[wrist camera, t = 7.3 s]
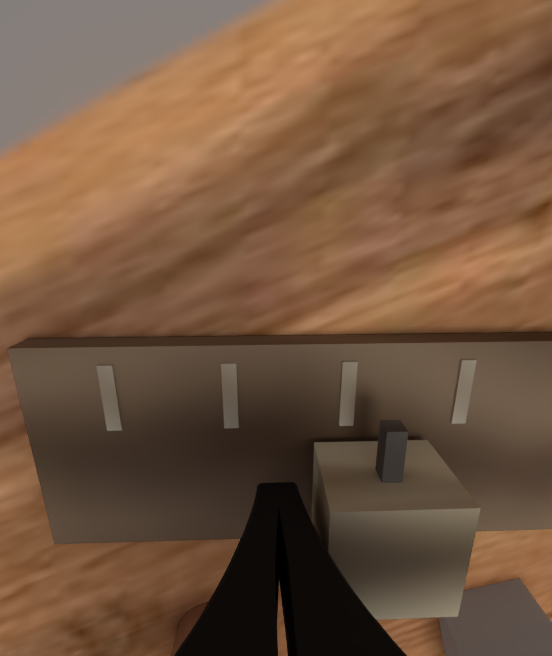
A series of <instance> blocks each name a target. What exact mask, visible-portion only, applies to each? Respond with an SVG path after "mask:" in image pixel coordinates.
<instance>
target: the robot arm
mask: <svg viewBox="0 0 552 656" xmlns="http://www.w3.org/2000/svg"><path fill="white" fill-rule="evenodd" d="M279 581H280V589H281V598H282V606H283V615H284V623H285V632H286V640H287V651H288V656H407V655H406V654H405V653H404V652H403V651H402V650H401V649H400V648H399V647H398V645H397V644H396V643H395V642H394V641H393V640H392V639H391V637H390V636H389V635H388V634H387V632H386V631H385V630H384V629H383V628H382V626H381V625H380V624H379V623H378V622H377V620H376V619H375V618H374V617H373V615H372V614H371V613H370V612H369V611H368V609H367V608H366V607H365V605H364V604H363V603H362V601H361V600H360V599H359V597H358V596H357V595H356V593H355V592H354V591H353V589H352V588H351V586H350V585H349V583H348V582H347V581H346V579H345V578H344V576H343V575H342V573H341V572H340V570H339V569H338V567H337V565H336V564H335V562H334V561H333V559H332V557H331V556H330V554H329V552H328V551H327V549H326V547H325V546H324V544H323V542H322V540H321V539H320V537H319V535H318V533H317V531H316V529H315V527H314V525H313V523H312V521H311V519H310V517H309V515H308V513H307V511H306V508H305V506H304V504H303V501H302V499H301V496H300V493H299V491H298V487H297V485H296V484H295V483H294V482H276V483H260V484H259V485H258V486H257V491H256V496H255V500H254V503H253V507H252V510H251V513H250V516H249V519H248V521H247V524H246V527H245V529H244V532H243V535H242V537H241V539H240V542H239V544H238V546H237V548H236V551H235V553H234V555H233V557H232V559H231V562H230V564H229V566H228V568H227V570H226V572H225V574H224V575H223V577H222V579H221V581H220V583H219V585H218V587H217V588H216V590H215V592H214V594H213V596H212V597H211V599H210V601H209V602H208V604H207V606H206V607H205V609H204V611H203V612H202V614H201V616H200V617H199V619H198V620H197V622H196V624H195V625H194V627H193V628H192V630H191V631H190V633H189V634H188V636H187V637H186V638H185V640H184V641H183V643H182V644H181V646H180V647H179V649H178V650H177V651H176V653H175V654H174V656H278V645H277V609H278V586H279Z"/></svg>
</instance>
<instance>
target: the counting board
mask: <svg viewBox="0 0 552 656" xmlns="http://www.w3.org/2000/svg"><path fill="white" fill-rule="evenodd" d="M7 350H8V354H9V358H10V363H11V367H12V371H13V375H14V379H15V383H16V387H17V391H18V395H19V400H20V404H21V408H22V412H23V416H24V420H25V424H26V428H27V432H28V436H29V441H30V445H31V449H32V453H33V457H34V461H35V465H36V469H37V473H38V478H39V482H40V486H41V490H42V494H43V498H44V502H45V506H46V510H47V514H48V519H49V523H50V527H51V531H52V535H53V539H54V543H55V544H76V543H109V542H142V541H174V540H207V539H240V538H241V537H242V535H243V532H244V529H245V527H246V524H247V521H248V519H249V516H250V513H251V510H252V507H253V503H254V500H255V496H256V491H257V486H258V485H259V484H260V483H276V482H294V483H295V484H296V485H297V487H298V491H299V493H300V496H301V499H302V501H303V504H304V506H305V508H306V511H307V513H308V515H309V517H310V519H311V518H312V488H313V459H314V442H356V441H378V436H379V425H380V420H401V422H402V423H403V425H404V426H405V427H406V429H407V430H408V440H428V441H429V442H430V444H431V445H432V446H433V448H434V449H435V450H436V451H437V453H438V454H439V455H440V457H441V458H442V459H443V460H444V462H445V463H446V464H447V466H448V467H449V468H450V469H451V471H452V472H453V473H454V475H455V476H456V477H457V478H458V480H459V481H460V482H461V484H462V485H463V486H464V487H465V489H466V490H467V491H468V493H469V494H470V495H471V496H472V498H473V499H474V500H475V502H476V503H477V504H478V506H479V507H480V508H481V509H480V514H479V518H478V523H477V528H476V531H503V530H536V529H552V332H519V333H439V334H359V335H280V336H200V337H120V338H40V339H27V340H24V341H22V342H20V343H18V344H16V345H13V346H11V347H9V348H7Z"/></svg>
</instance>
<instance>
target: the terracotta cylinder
mask: <svg viewBox="0 0 552 656" xmlns="http://www.w3.org/2000/svg"><path fill="white" fill-rule="evenodd" d="M207 604H208V602H207V603H204V604H201V605H198V606H196V607H194V608H193V609H191V610H190V611H188V612H187V613H186V614H185V615H184V616H183V617H182V619H181V620H180V622H179V624H178V627H177V631H176V636H175V640H174V645H173V649H172V654H171V656H174V654H175V653H176V651H177V650H178V649H179V647H180V646H181V644H182V643H183V641H184V640H185V638H186V637H187V636H188V634H189V633H190V631H191V630H192V628H193V627H194V625H195V624H196V622H197V620H198V619H199V617H200V616H201V614H202V612H203V611H204V609H205V607H206V606H207Z"/></svg>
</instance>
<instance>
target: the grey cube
mask: <svg viewBox="0 0 552 656" xmlns="http://www.w3.org/2000/svg"><path fill="white" fill-rule="evenodd" d="M439 623H440V629H441V635H442V641H443V647H444V652H445V655H446V656H552V622H551V621H550V619H549V618H548V617H547V615H546V614H545V613H544V611H543V610H542V609H541V607H540V606H539V604H538V603H537V602H536V600H535V599H534V598H533V596H532V595H531V593H530V592H529V591H528V589H527V588H526V587H525V585H524V584H523V582H522V581H521V580H520V578H518V579H514V580H509V581H505V582H500V583H496V584H491V585H487V586H482V587H477V588H473V589H468V590H464V591H463V595H462V599H461V604H460V609H459V614H458V617H439Z"/></svg>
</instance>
